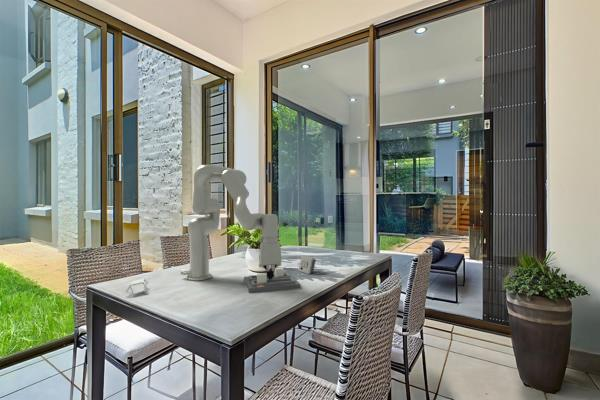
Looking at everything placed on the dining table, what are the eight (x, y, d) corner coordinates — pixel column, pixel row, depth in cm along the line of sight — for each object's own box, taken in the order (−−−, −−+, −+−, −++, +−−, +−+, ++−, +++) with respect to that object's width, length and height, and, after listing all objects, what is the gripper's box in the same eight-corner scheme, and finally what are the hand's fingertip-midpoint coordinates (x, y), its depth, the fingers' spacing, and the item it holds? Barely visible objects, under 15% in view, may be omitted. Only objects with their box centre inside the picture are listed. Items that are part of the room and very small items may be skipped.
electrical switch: (297, 271, 176) (299, 255, 177) (304, 270, 180) (305, 254, 180) (308, 274, 169) (310, 257, 170) (315, 274, 173) (317, 257, 173)
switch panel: (248, 292, 138) (248, 286, 138) (244, 280, 157) (244, 274, 157) (300, 288, 145) (300, 282, 145) (289, 277, 164) (289, 271, 164)
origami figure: (145, 295, 134) (145, 284, 134) (124, 296, 132) (124, 285, 132) (153, 287, 146) (153, 277, 145) (135, 288, 144) (135, 277, 144)
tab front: (258, 284, 143) (258, 275, 143) (256, 282, 146) (256, 273, 146) (266, 284, 144) (266, 274, 144) (265, 282, 147) (265, 273, 147)
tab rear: (276, 278, 154) (276, 269, 154) (274, 276, 158) (274, 267, 158) (283, 277, 155) (283, 268, 155) (282, 275, 159) (282, 267, 159)
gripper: (255, 242, 140) (255, 282, 140) (287, 240, 144) (287, 279, 145) (252, 239, 147) (253, 278, 147) (283, 238, 152) (283, 275, 152)
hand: (270, 278), depth 146 cm, fingers closed
